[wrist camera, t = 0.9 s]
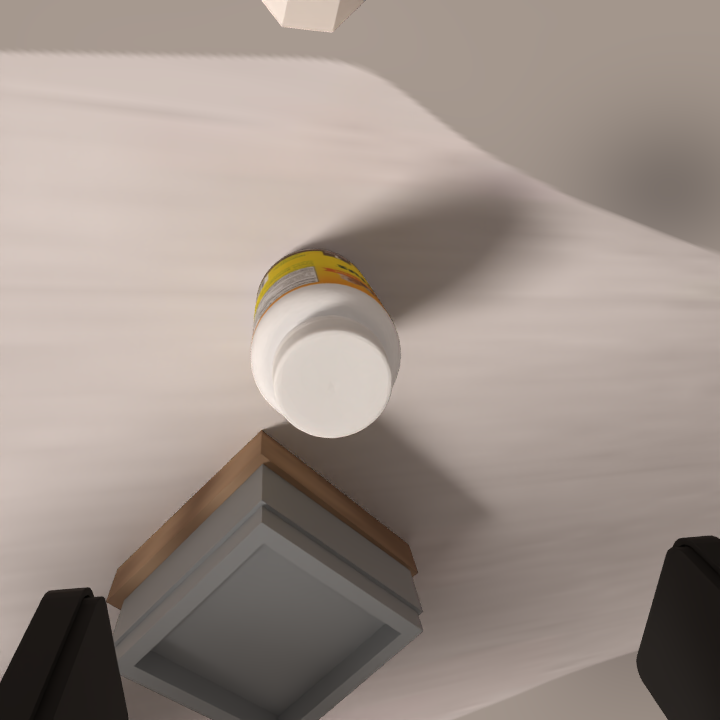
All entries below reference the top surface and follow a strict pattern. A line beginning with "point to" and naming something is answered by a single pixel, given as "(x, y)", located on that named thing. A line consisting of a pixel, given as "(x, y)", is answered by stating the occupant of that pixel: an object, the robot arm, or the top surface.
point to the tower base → (225, 485)
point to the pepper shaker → (312, 13)
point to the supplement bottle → (323, 344)
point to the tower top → (267, 610)
